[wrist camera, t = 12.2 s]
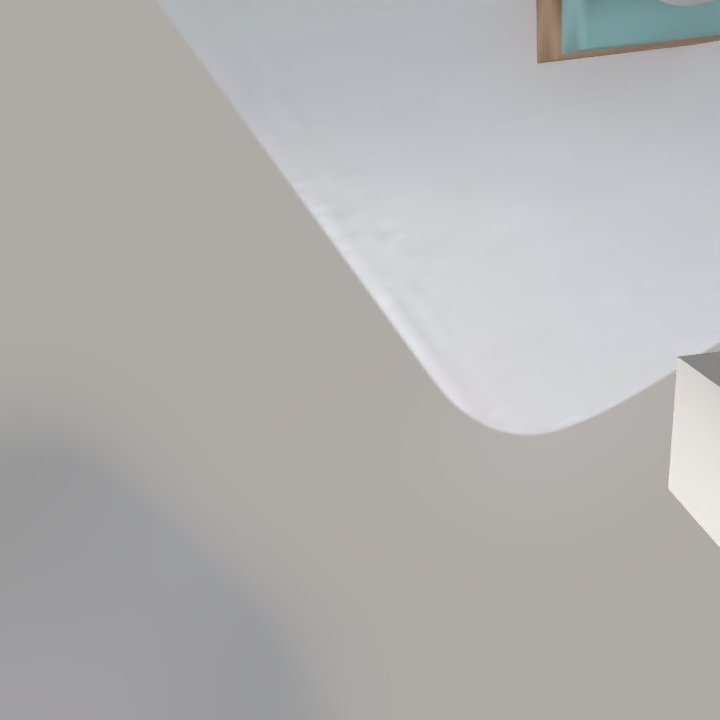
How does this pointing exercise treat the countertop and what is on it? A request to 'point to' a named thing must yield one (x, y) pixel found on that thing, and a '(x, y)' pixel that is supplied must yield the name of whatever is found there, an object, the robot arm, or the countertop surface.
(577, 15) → the teal and brown block
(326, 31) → the countertop surface
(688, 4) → the beverage can
